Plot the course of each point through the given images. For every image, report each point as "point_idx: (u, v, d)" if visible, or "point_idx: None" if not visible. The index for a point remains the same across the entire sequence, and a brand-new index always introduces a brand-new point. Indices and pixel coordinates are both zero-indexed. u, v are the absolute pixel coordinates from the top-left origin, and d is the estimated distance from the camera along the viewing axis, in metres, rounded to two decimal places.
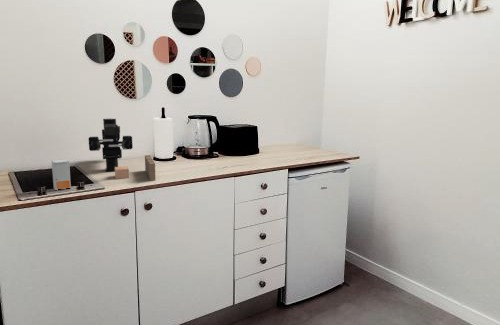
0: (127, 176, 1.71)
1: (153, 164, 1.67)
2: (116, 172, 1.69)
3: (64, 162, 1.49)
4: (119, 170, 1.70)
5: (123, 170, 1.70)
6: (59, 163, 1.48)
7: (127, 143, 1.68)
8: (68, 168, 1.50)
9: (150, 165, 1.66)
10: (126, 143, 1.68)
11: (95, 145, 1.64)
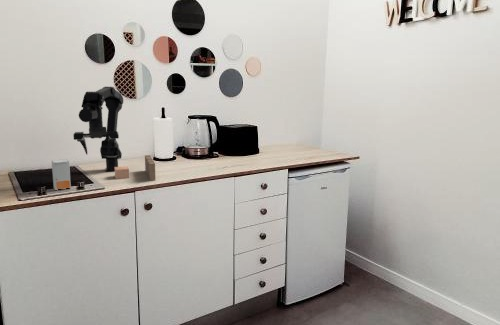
0: (127, 176, 1.71)
1: (153, 164, 1.67)
2: (116, 172, 1.69)
3: (64, 162, 1.49)
4: (119, 170, 1.70)
5: (123, 170, 1.70)
6: (59, 163, 1.48)
7: None
8: (68, 168, 1.50)
9: (150, 165, 1.66)
10: None
11: None
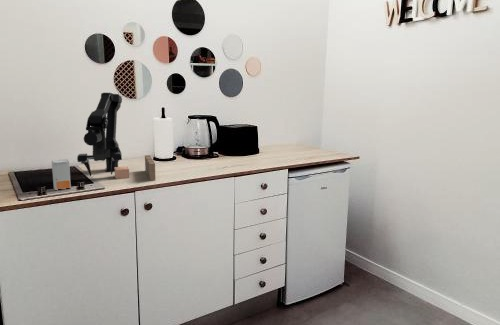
0: (127, 176, 1.72)
1: (153, 164, 1.67)
2: (116, 172, 1.69)
3: (64, 162, 1.49)
4: (119, 170, 1.70)
5: (123, 170, 1.70)
6: (59, 163, 1.48)
7: None
8: (68, 168, 1.50)
9: (150, 165, 1.66)
10: None
11: None
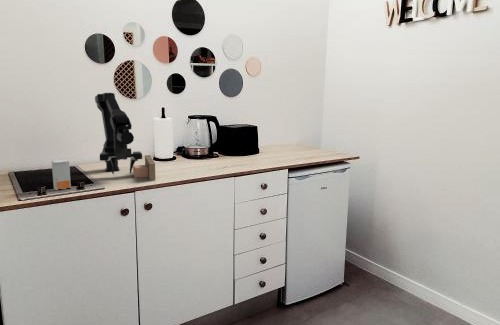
0: (146, 174, 1.75)
1: (153, 164, 1.67)
2: (136, 170, 1.72)
3: (64, 162, 1.49)
4: (138, 168, 1.73)
5: (142, 168, 1.73)
6: (59, 163, 1.48)
7: None
8: (68, 168, 1.50)
9: (150, 165, 1.66)
10: None
11: None
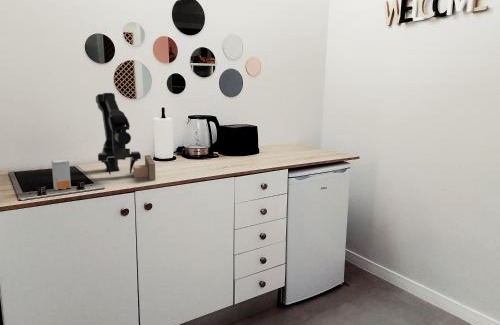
0: (146, 174, 1.75)
1: (153, 164, 1.67)
2: (136, 170, 1.72)
3: (64, 162, 1.49)
4: (138, 168, 1.73)
5: (142, 168, 1.73)
6: (59, 163, 1.48)
7: None
8: (68, 168, 1.50)
9: (150, 165, 1.66)
10: None
11: None
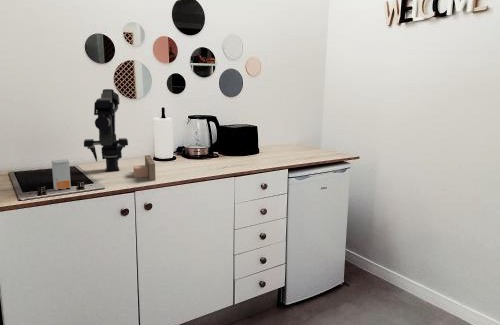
0: (146, 175, 1.75)
1: (153, 164, 1.67)
2: (136, 171, 1.73)
3: (64, 162, 1.49)
4: (138, 169, 1.73)
5: (142, 169, 1.74)
6: (59, 163, 1.48)
7: None
8: (68, 168, 1.50)
9: (150, 165, 1.66)
10: None
11: None
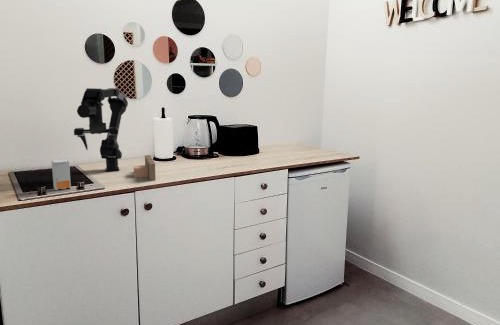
0: (146, 175, 1.75)
1: (153, 164, 1.67)
2: (135, 171, 1.73)
3: (64, 162, 1.49)
4: (138, 169, 1.73)
5: (142, 169, 1.74)
6: (59, 163, 1.48)
7: None
8: (68, 168, 1.50)
9: (150, 165, 1.66)
10: None
11: None
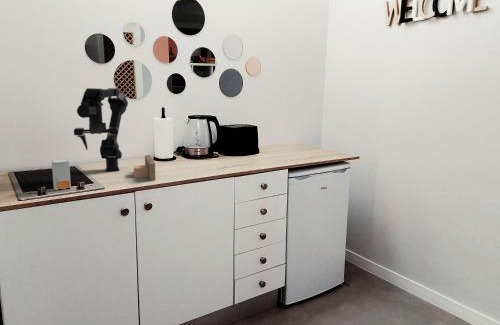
0: (146, 175, 1.75)
1: (153, 164, 1.67)
2: (136, 171, 1.73)
3: (64, 162, 1.49)
4: (138, 169, 1.73)
5: (142, 169, 1.74)
6: (59, 163, 1.48)
7: None
8: (68, 168, 1.50)
9: (150, 165, 1.66)
10: None
11: None
